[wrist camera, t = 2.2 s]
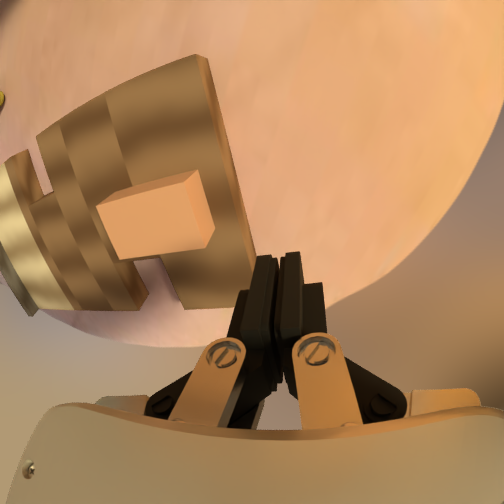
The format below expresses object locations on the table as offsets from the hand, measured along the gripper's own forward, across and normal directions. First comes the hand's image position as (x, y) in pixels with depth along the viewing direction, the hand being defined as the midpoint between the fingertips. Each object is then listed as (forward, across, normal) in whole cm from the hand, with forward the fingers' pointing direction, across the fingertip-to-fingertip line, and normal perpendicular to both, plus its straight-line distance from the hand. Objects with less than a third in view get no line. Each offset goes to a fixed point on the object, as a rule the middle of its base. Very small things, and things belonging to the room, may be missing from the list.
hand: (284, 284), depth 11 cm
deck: (+13, +23, -1) cm, 27 cm away
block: (+10, +10, -1) cm, 15 cm away
